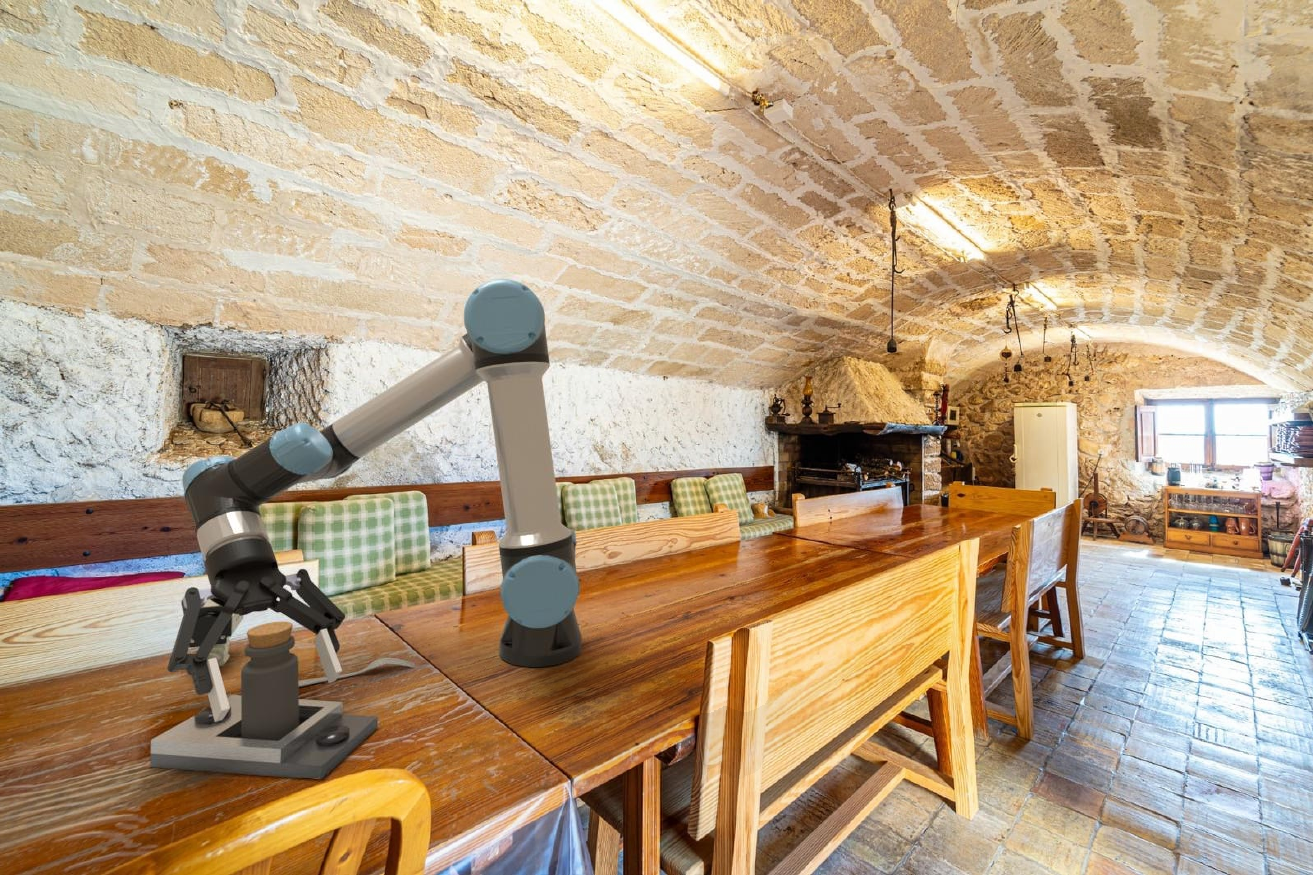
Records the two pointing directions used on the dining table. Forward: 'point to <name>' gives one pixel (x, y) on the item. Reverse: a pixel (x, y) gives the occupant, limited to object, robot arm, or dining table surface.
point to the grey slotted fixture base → (263, 743)
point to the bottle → (270, 683)
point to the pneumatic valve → (206, 622)
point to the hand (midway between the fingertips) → (283, 694)
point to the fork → (371, 666)
